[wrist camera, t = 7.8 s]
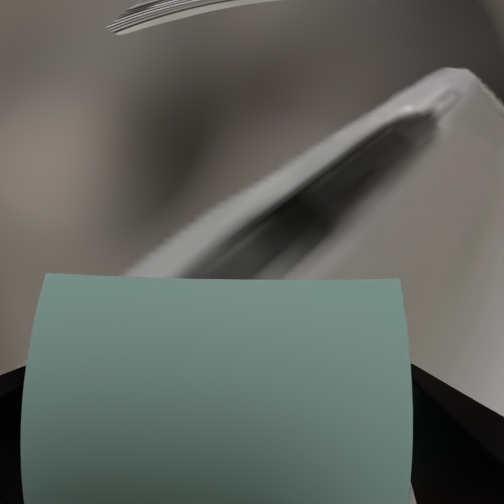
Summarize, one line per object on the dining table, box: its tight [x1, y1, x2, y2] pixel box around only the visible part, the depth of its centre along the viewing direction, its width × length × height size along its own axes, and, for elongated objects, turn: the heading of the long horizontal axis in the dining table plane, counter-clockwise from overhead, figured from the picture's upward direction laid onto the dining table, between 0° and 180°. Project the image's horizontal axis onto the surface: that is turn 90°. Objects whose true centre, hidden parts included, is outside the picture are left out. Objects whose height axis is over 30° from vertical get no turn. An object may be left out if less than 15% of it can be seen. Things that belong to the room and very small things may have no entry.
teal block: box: [21, 273, 413, 504], centre depth 8 cm, size 5×6×12 cm
